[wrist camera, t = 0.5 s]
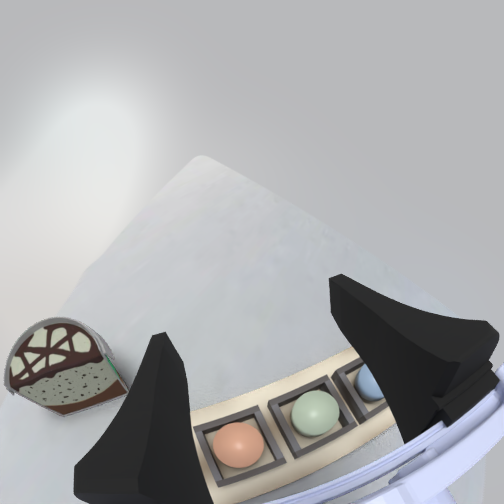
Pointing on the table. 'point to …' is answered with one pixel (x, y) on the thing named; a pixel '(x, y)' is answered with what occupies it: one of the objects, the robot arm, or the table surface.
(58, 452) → the table surface
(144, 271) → the table surface
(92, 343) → the food container
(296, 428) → the button sage
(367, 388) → the button blue
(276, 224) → the table surface
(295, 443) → the button board
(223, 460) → the button terracotta
